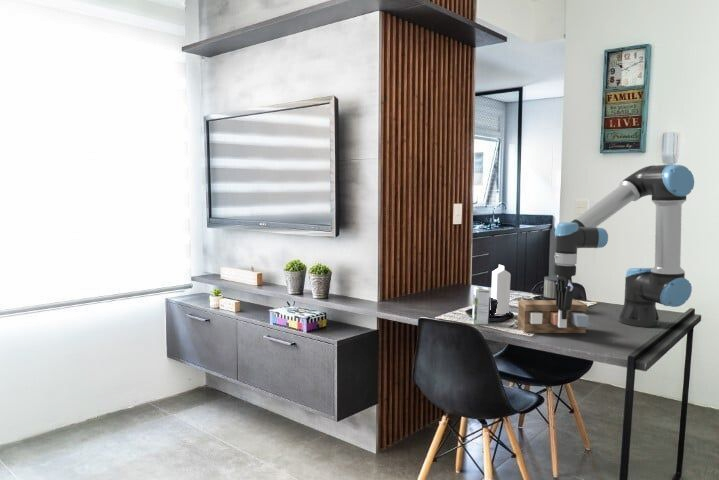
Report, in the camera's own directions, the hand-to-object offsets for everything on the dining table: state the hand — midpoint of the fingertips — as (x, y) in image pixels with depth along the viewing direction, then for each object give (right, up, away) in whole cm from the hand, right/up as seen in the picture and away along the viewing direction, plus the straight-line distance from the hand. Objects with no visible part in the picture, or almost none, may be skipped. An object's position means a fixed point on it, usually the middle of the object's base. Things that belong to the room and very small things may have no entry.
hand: (562, 327), depth 206 cm
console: (-1, -3, +10) cm, 11 cm away
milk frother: (+9, +1, +47) cm, 48 cm away
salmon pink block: (0, +1, +6) cm, 7 cm away
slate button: (+8, +1, +5) cm, 9 cm away
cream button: (-9, +1, +8) cm, 12 cm away
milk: (-15, 0, +33) cm, 36 cm away
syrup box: (-26, -2, +20) cm, 33 cm away
